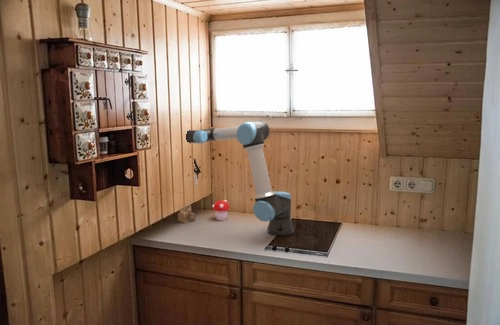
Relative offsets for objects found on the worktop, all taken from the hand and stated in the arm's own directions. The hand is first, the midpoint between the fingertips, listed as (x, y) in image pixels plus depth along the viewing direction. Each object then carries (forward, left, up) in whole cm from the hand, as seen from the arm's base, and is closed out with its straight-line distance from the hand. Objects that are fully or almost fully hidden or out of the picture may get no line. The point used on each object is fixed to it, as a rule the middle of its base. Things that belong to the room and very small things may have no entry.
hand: (186, 186), depth 265 cm
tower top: (+1, 0, -17) cm, 17 cm away
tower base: (0, 0, -22) cm, 22 cm away
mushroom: (-19, +10, -22) cm, 31 cm away
